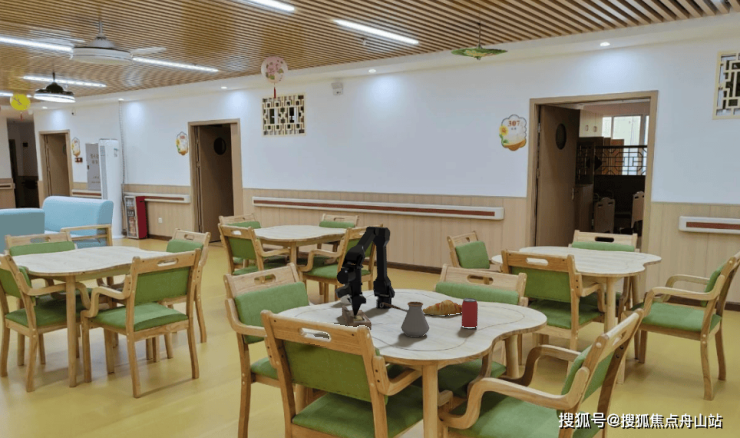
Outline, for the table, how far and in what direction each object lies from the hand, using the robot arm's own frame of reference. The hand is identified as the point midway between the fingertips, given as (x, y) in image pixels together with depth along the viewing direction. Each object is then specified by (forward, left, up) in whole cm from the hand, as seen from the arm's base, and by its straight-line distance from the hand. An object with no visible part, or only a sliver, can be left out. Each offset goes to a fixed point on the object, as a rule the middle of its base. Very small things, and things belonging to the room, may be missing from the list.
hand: (355, 315), depth 241 cm
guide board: (-1, -2, -4) cm, 5 cm away
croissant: (-44, -8, -4) cm, 45 cm away
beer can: (-46, +15, -4) cm, 49 cm away
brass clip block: (0, 0, -2) cm, 2 cm away
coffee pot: (-16, +20, -4) cm, 26 cm away
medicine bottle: (-4, -35, -4) cm, 36 cm away
